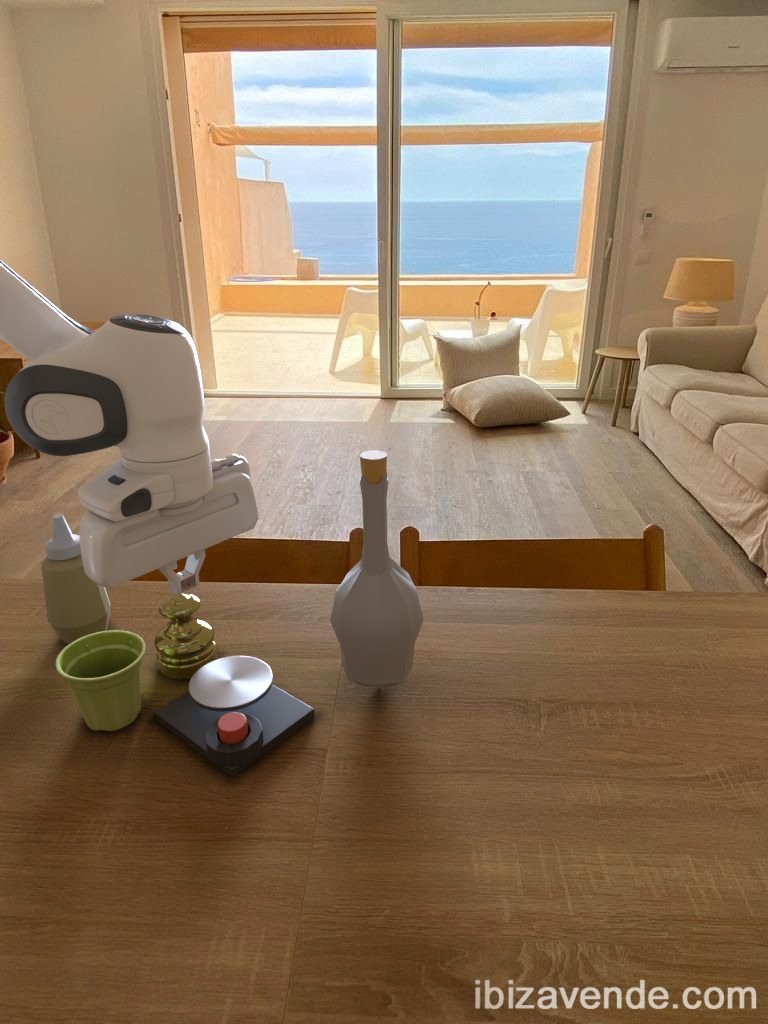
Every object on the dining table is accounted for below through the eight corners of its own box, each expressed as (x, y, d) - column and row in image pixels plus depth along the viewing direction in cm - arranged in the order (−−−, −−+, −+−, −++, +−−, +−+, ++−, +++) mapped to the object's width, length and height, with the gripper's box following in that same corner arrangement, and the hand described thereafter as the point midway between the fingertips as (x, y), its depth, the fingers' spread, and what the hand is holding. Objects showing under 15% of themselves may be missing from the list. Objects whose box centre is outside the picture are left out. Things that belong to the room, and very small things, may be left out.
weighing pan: (172, 688, 81) (171, 684, 80) (237, 650, 87) (236, 646, 87) (224, 724, 75) (224, 719, 75) (289, 680, 82) (289, 676, 81)
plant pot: (133, 679, 87) (121, 620, 83) (171, 714, 81) (160, 653, 77) (57, 714, 81) (42, 653, 78) (92, 756, 75) (76, 691, 71)
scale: (151, 722, 80) (147, 701, 78) (236, 670, 88) (234, 650, 87) (232, 783, 71) (229, 760, 70) (317, 718, 80) (316, 697, 79)
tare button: (213, 735, 74) (211, 723, 73) (235, 720, 76) (234, 708, 75) (231, 748, 72) (229, 735, 71) (253, 732, 74) (252, 720, 73)
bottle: (352, 727, 79) (342, 481, 66) (319, 671, 88) (305, 446, 76) (440, 699, 83) (446, 463, 70) (399, 649, 92) (399, 432, 80)
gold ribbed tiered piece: (214, 642, 94) (205, 577, 90) (220, 674, 88) (211, 606, 84) (158, 652, 92) (146, 587, 88) (160, 686, 86) (147, 617, 81)
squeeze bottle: (122, 637, 95) (98, 519, 88) (59, 658, 91) (29, 535, 84) (107, 611, 101) (83, 498, 94) (47, 630, 97) (18, 513, 90)
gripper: (229, 444, 82) (239, 548, 88) (61, 495, 68) (86, 615, 73) (264, 455, 78) (273, 564, 84) (94, 512, 64) (118, 638, 70)
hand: (184, 588), depth 79 cm, fingers closed
